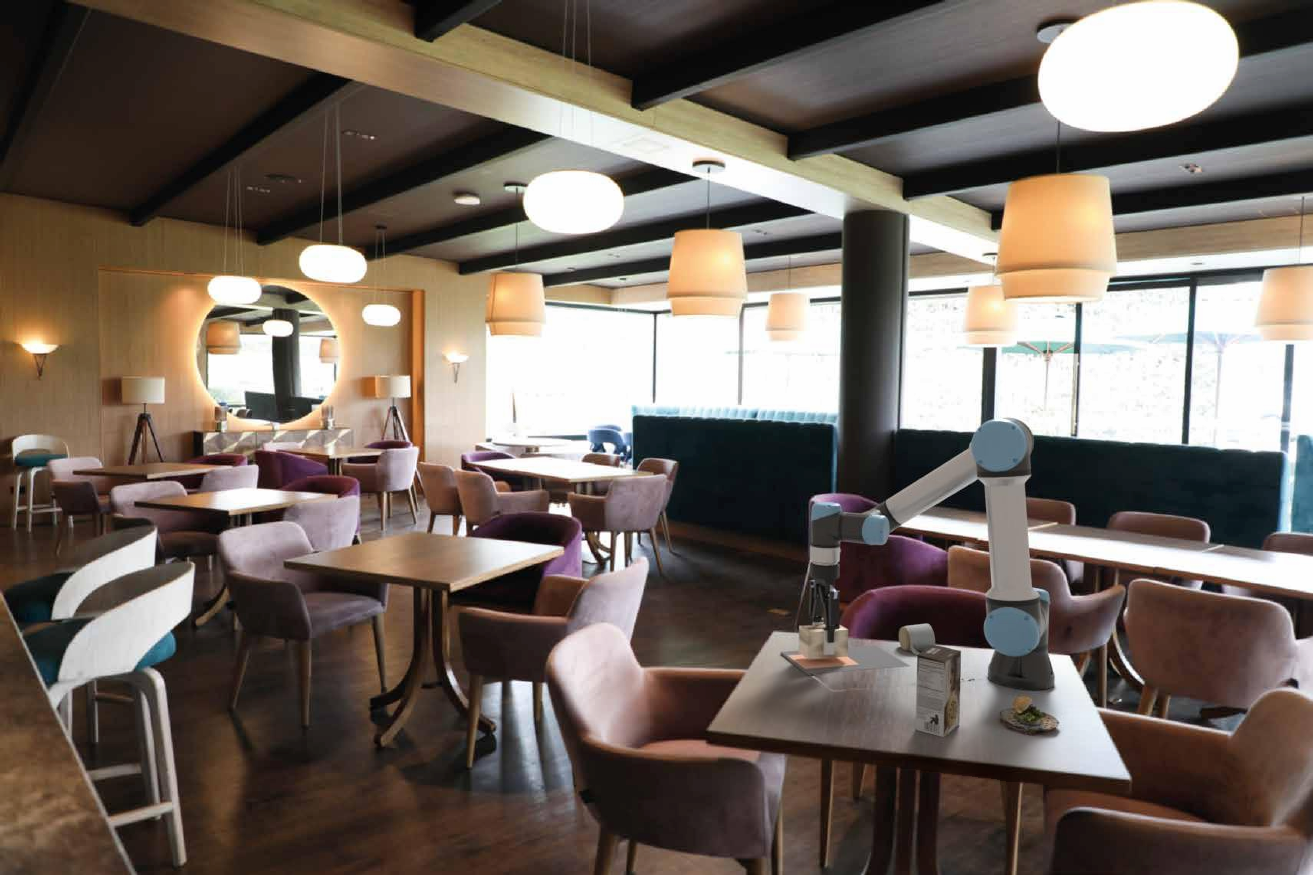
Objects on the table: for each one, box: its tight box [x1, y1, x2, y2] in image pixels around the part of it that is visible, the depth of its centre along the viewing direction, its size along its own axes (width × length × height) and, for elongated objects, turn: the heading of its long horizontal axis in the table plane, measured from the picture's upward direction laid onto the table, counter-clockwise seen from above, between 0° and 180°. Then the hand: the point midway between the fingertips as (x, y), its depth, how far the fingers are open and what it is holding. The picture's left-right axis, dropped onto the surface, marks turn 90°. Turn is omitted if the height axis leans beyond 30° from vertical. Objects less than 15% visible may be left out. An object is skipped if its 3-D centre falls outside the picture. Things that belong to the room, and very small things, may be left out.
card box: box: [798, 623, 849, 659], centre depth 221 cm, size 11×6×7 cm, turn 104°
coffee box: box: [915, 644, 962, 738], centre depth 179 cm, size 9×6×16 cm
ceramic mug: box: [898, 623, 936, 656], centre depth 231 cm, size 10×8×7 cm
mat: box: [780, 644, 911, 677], centre depth 223 cm, size 18×28×1 cm, turn 104°
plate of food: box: [998, 688, 1060, 737], centre depth 181 cm, size 12×12×8 cm
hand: (823, 650), depth 221 cm, fingers closed on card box, 6 cm apart
